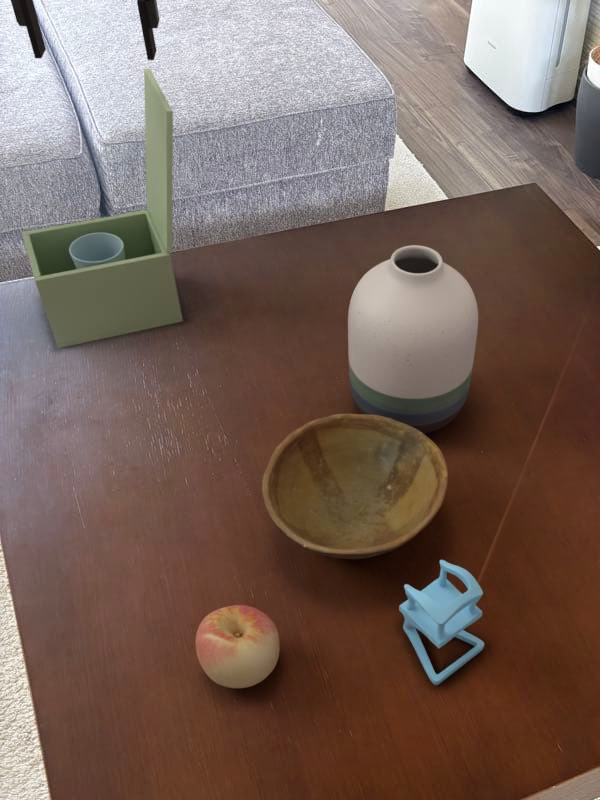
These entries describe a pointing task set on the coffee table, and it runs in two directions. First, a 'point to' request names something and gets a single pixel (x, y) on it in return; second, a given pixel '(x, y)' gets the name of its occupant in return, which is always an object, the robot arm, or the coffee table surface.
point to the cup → (96, 250)
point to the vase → (412, 339)
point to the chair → (443, 616)
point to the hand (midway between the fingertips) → (96, 54)
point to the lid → (159, 158)
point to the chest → (104, 280)
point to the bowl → (354, 485)
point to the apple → (237, 646)
